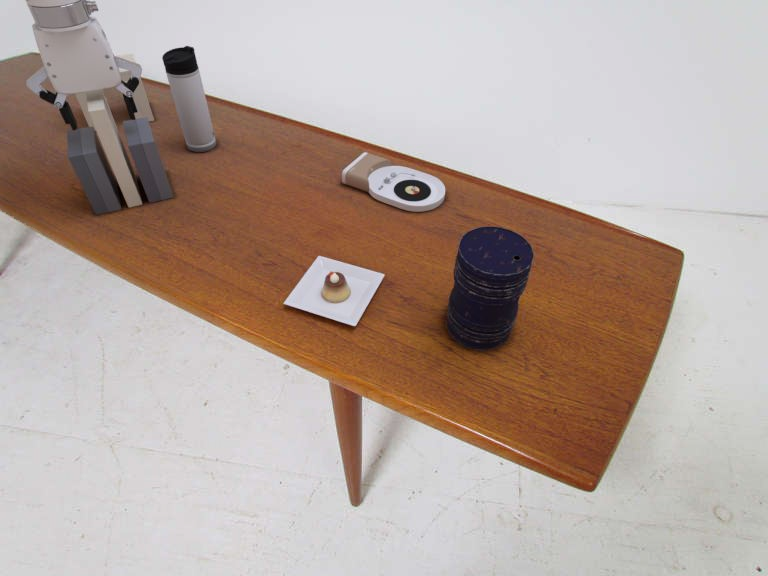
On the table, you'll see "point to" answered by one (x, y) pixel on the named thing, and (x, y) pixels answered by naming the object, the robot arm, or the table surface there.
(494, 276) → the dark blue barrel
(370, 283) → the dessert
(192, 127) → the travel mug
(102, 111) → the cream book
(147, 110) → the white books
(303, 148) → the table surface
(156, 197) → the grey books
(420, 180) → the record player
